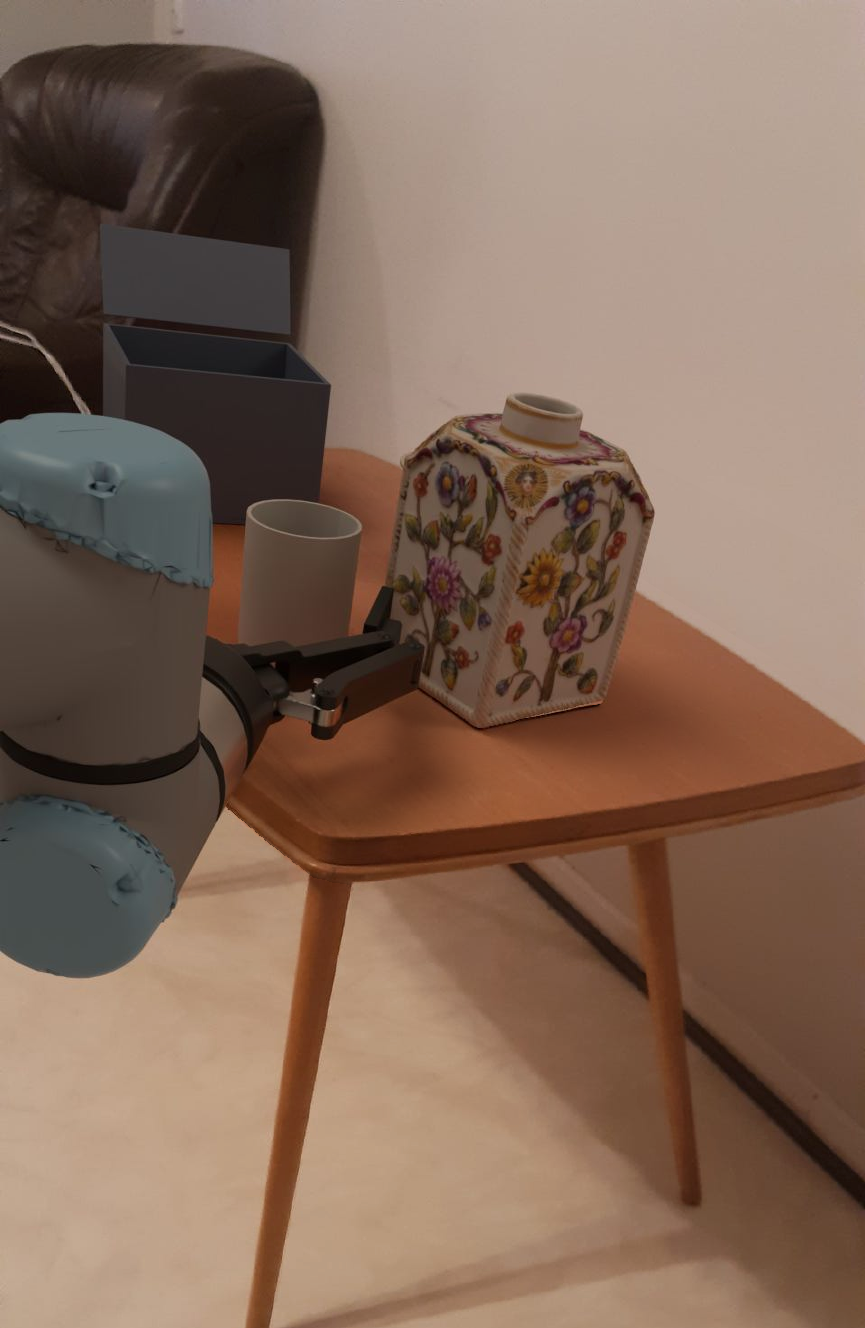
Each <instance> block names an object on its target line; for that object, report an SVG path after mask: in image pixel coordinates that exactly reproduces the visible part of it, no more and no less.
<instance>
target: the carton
mask: <svg viewBox="0 0 865 1328" xmlns="http://www.w3.org/2000/svg"><path fill="white" fill-rule="evenodd" d="M102 324H103V325H102V327H103V328H102V329H103V330H102V334H103V335H102V339H103V340H102V363H103V364H102V416H106V417H112V418H117V419H122V420H127V421H131V422H135V423H138V424H142V425H145V426H149V427H151V428H154V429H157V430H160V431H162V432H164V433H166V434H168V435H170V436H171V437H173V438H175V439H177V440H179V441H181V442H182V443H184V444H185V445H187V446H188V447H189V448H191V449H192V450H193V451H194V452H195V453H196V455H197V456H198V457H199V458H200V460H201V461H202V463H203V465H204V467H205V468H206V471H207V474H208V478H209V482H210V496H211V512H212V524H224V525H225V524H226V525H243V526H246V513H247V509H248V507H249V506H251V505H252V504H254V503H257V502H261V501H266V500H277V499H289V500H301V501H308V502H314V503H319V504H320V494H321V493H320V492H321V485H322V484H321V483H322V475H323V466H324V465H323V464H324V456H325V446H326V437H327V429H328V419H329V407H330V402H331V401H330V400H331V392H332V391H331V390H332V384H331V383H330V382H329V381H328V379H326V378H325V377H324V376H323V375H322V374H321V373H320V372H319V371H318V370H317V369H316V367H314V366H313V364H311V363H310V362H309V361H308V360H307V359H306V358H305V357H304V356H303V355H302V353H300V352H299V351H298V350H297V349H296V348H295V346H293V344H292V343H289V342H284V341H283V342H282V341H272V340H263V339H254V338H245V337H237V336H236V337H235V336H229V335H228V336H227V335H219V334H208V333H198V332H192V331H191V332H189V331H181V330H171V329H163V328H162V329H161V328H153V327H144V326H136V325H126V324H116V323H107V322H103V323H102Z"/></svg>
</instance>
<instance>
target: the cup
mask: <svg viewBox="0 0 865 1328" xmlns="http://www.w3.org/2000/svg"><path fill="white" fill-rule="evenodd" d="M244 527H245V528H244V529H245V530H244V531H245V532H244V540H243V541H244V542H243V556H242V569H241V585H240V599H239V611H238V626H237V644H241V643H245V644H246V645H248V646H255V645H260V644H266V643H271V642H276V641H286V642H287V643H289V644H290V645H292V646H293V647H297V646H302V645H307V644H312V643H318V642H323V641H328V640H333V639H339V638H344V637H349V632H350V626H351V625H350V624H351V618H352V617H351V616H352V608H353V603H354V595H355V594H354V592H355V586H356V578H357V570H358V563H359V562H358V561H359V556H360V555H359V554H360V546H361V539H362V531H363V524H362V522H361V521H360V520H359V519H358V518H357V517H356V516H354V515H353V514H350V513H348V512H346V511H344V510H342V509H339V508H336V507H333V506H330V505H327V504H322V503H320V502H319V503H314V502H308V501H301V500H289V499H277V500H266V501H261V502H257V503H254V504H252V505H251V506H249V507H248V509H247V513H246V525H245V526H244ZM271 665H272V666H273V667H274V668H275V662H274V663H271Z"/></svg>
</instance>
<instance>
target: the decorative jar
mask: <svg viewBox="0 0 865 1328" xmlns="http://www.w3.org/2000/svg"><path fill="white" fill-rule="evenodd" d="M583 418H584V413H583V411H582V410H581V408H579V407H578V406H576V405H575V404H573V403H570V402H568V401H565V400H562V399H560V398H555V397H553V396H548V395H543V394H536V393H532V392H531V393H530V392H512V393H510V394H508V396H506V399H505V403H504V407H503V410H502V412H489V413H487V412H485V413H467V414H458V415H457V414H456V415H455V416H454V417H452V418H450V419H449V420H448V421H447V422H446V423H443V424H442V425H441V426H440V427H439V428H437V429H436V430H434V431H433V432H432V433H430V434H429V435H428V436H427V438H426V439H425V440H423V441H422V442H421V443H420V444H419V445H418V446H417V447H415V448H414V450H413V451H412V452H413V453H411V454H410V455H409V456H408V457H407V458H406V460H405V461H404V466H403V468H402V474H401V478H400V484H399V487H400V488H399V490H398V499H397V504H396V509H395V511H396V512H395V517H394V518H395V519H394V524H393V530H392V537H391V543H390V549H389V555H388V562H387V568H386V574H385V581H384V586H386V587H391V588H394V594H393V601H392V608H391V615H390V619H393V620H398V621H401V623H402V630H401V637H400V643H399V644H402V643H405V642H408V641H414V642H418V643H421V644H423V645H424V646H425V651H424V657H423V663H422V669H421V675H420V680H419V686H418V689H420V690H422V691H423V692H425V693H426V694H427V695H428V696H430V697H432V698H434V699H435V700H436V701H438V702H439V703H441V704H442V705H444V706H445V707H446V708H448V709H450V710H451V712H453V713H455V714H456V715H457V714H458V715H457V716H459V717H460V718H461V719H462V720H464V719H465V720H464V721H466V722H467V721H468V722H467V723H468V724H470V725H471V726H473V727H474V728H476V727H477V728H476V729H478V728H483V729H487V728H490V727H489V726H492V727H495V726H494V725H496V726H499V725H498V724H501V725H503V724H502V723H506V722H510V721H513V720H517V719H522V718H526V717H531V716H535V715H540V714H543V713H544V714H545V713H549V712H552V711H557V710H563V709H564V710H565V709H568V708H573V707H576V706H579V705H584V704H589V703H593V702H598V701H604V700H605V701H606V699H607V694H608V691H609V688H610V686H611V685H610V684H611V682H612V677H613V674H614V671H615V668H616V664H617V661H618V657H619V653H620V648H621V645H622V642H623V639H624V635H625V632H626V628H627V625H628V621H629V617H630V616H629V615H630V613H631V609H632V605H633V601H634V597H635V593H636V590H637V585H638V583H639V578H640V575H641V570H642V566H643V562H644V559H645V553H646V552H647V551H646V550H647V547H648V543H649V540H650V535H651V531H652V528H653V527H652V526H653V524H654V519H655V514H656V512H655V507H654V506H653V503H652V501H651V498H650V496H649V493H648V491H647V490H646V488H645V486H644V484H643V481H642V478H641V476H640V474H639V472H638V471H637V470H636V467H635V466H634V464H633V463H632V461H631V459H630V456H629V454H628V453H627V451H626V450H625V449H623V448H622V447H619V446H618V445H615V444H613V443H612V442H609V441H607V440H605V439H603V438H602V437H599V436H598V435H595V434H593V433H591V432H589V431H588V430H584V429H582V428H581V426H582V423H583ZM605 701H604V702H605ZM506 724H507V723H506ZM486 727H487V728H486Z"/></svg>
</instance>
